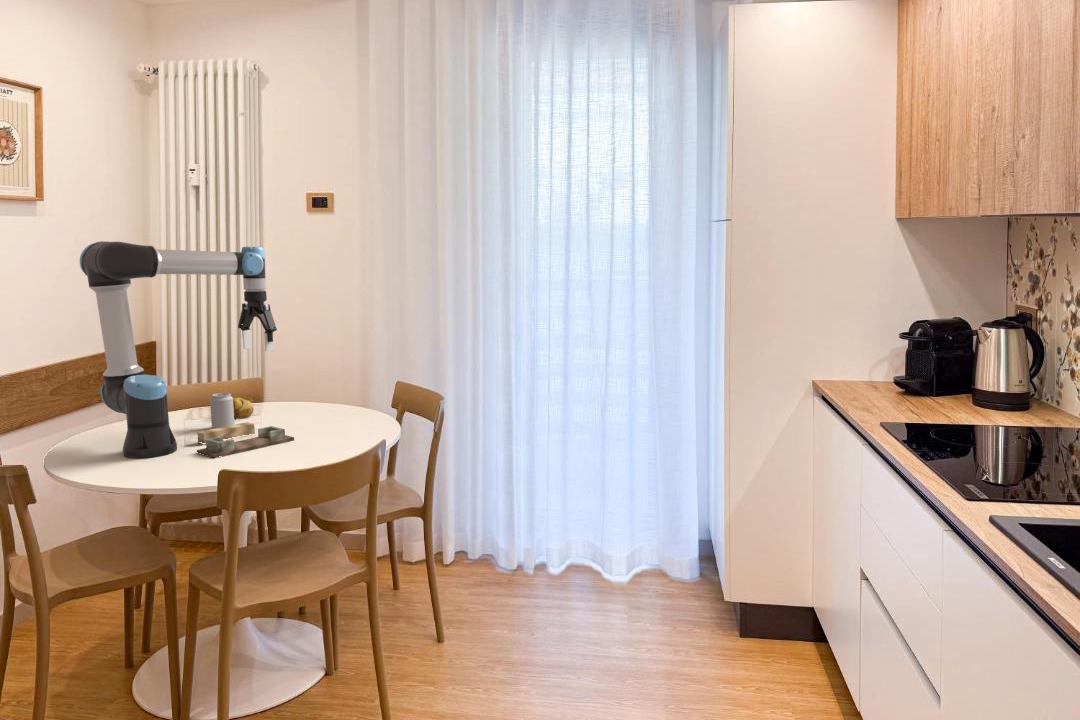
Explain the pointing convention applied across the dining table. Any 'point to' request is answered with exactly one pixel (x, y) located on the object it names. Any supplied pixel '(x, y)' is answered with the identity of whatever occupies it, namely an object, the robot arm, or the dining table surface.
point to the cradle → (245, 442)
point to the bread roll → (242, 408)
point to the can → (222, 410)
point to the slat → (227, 431)
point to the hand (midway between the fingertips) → (258, 349)
